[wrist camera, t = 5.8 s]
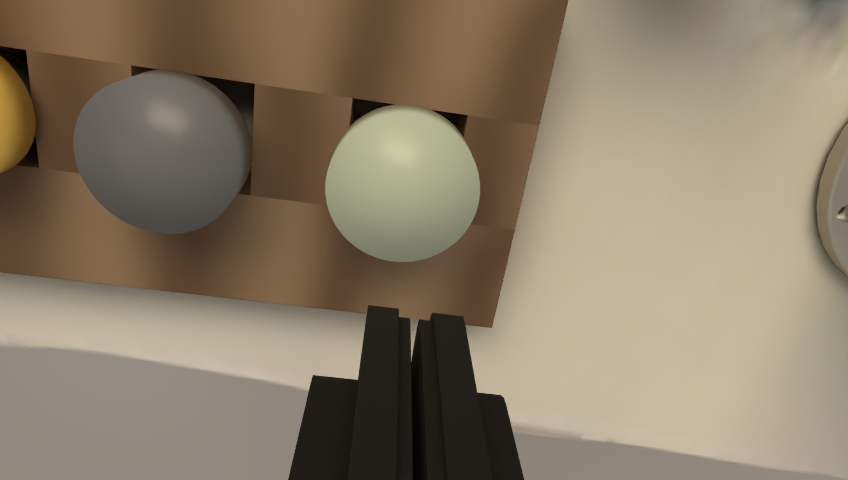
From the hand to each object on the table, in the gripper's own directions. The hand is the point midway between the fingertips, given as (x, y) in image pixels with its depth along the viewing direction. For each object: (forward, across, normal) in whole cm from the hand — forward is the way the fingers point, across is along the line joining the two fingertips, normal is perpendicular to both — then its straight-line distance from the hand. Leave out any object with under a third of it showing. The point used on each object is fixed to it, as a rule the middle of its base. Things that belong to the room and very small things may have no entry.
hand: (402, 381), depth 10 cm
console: (+17, +8, 0) cm, 19 cm away
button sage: (+15, 0, 0) cm, 15 cm away
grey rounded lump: (+15, +8, 0) cm, 17 cm away
